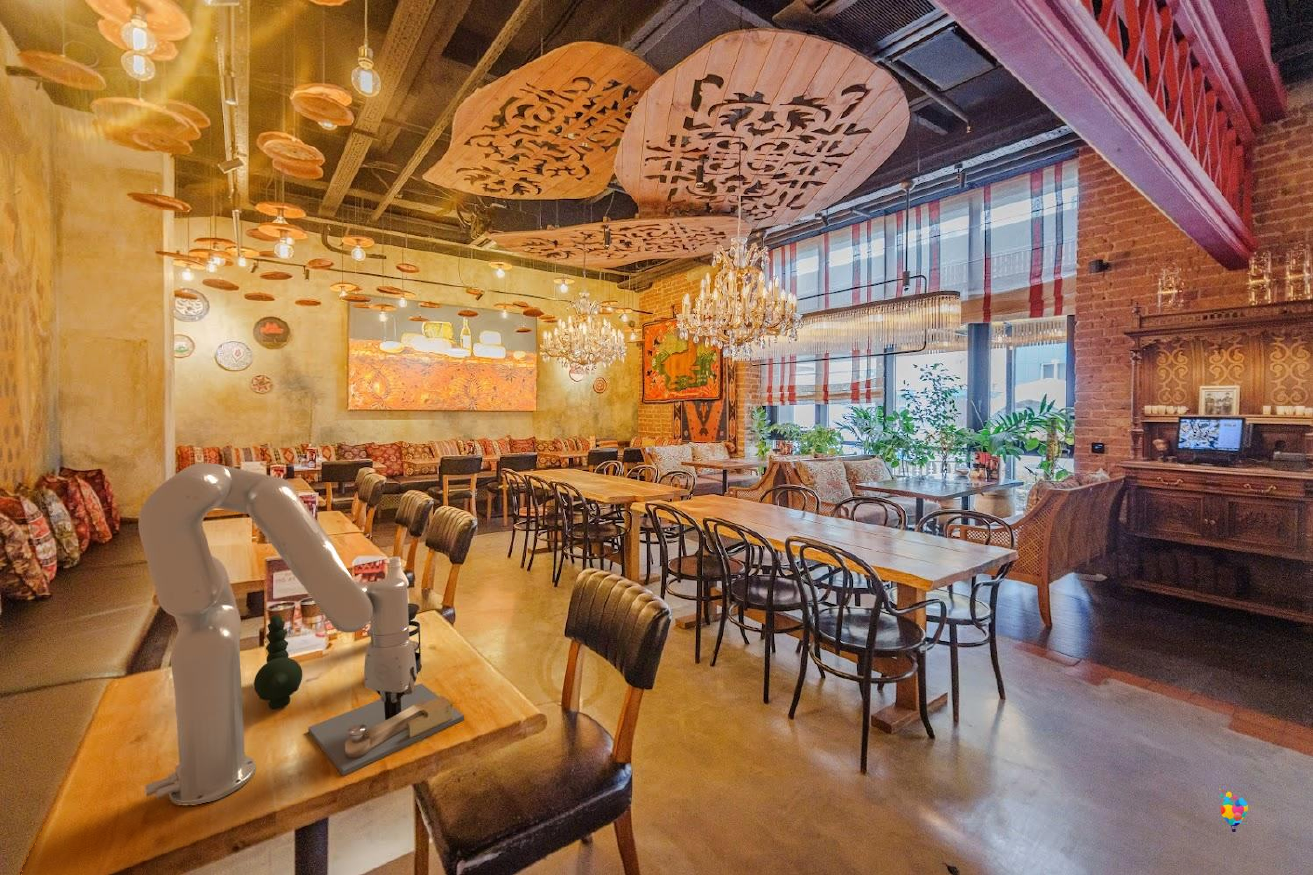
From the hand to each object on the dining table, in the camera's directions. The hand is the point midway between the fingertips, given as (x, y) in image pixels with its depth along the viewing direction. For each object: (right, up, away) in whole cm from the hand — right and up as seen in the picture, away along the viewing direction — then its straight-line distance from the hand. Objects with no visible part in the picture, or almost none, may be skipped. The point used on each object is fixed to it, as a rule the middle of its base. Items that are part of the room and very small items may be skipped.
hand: (393, 716), depth 121 cm
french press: (-10, -1, +25) cm, 27 cm away
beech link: (+1, -1, -4) cm, 5 cm away
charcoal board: (-2, -2, +1) cm, 3 cm away
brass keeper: (+8, -1, -1) cm, 8 cm away
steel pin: (-2, +1, -10) cm, 11 cm away
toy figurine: (-34, -2, +13) cm, 37 cm away
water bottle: (-20, 0, +45) cm, 49 cm away
